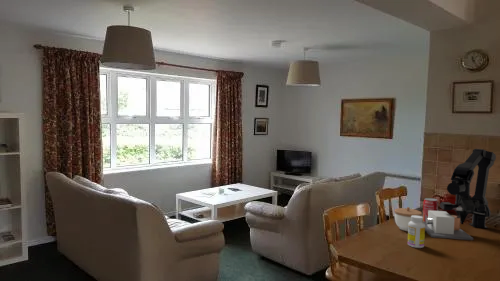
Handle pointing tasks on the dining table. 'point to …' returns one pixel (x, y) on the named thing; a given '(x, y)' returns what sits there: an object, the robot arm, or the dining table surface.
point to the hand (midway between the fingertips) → (461, 224)
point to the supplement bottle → (416, 232)
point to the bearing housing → (444, 226)
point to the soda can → (429, 207)
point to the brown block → (456, 222)
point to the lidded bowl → (405, 217)
